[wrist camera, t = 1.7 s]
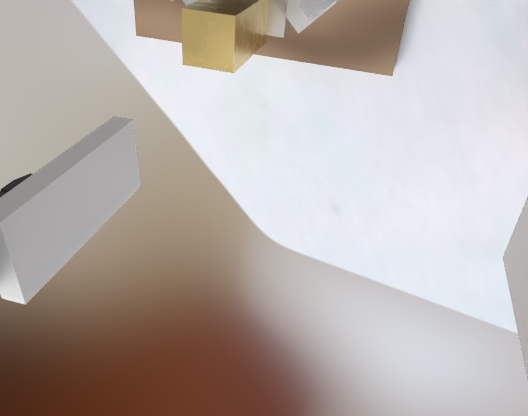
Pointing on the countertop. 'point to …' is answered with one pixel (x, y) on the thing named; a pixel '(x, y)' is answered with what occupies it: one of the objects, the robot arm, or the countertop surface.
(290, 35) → the board
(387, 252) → the countertop surface
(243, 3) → the white blocky ring
